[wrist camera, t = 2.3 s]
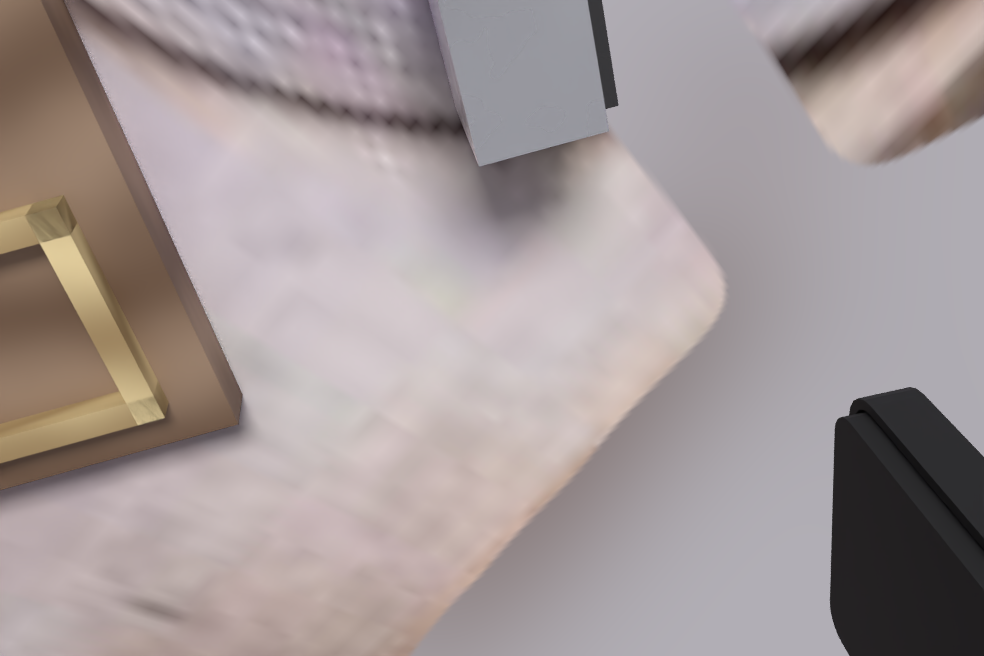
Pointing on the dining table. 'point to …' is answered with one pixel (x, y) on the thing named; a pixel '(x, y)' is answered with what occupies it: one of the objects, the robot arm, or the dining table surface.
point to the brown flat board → (87, 274)
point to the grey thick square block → (526, 72)
